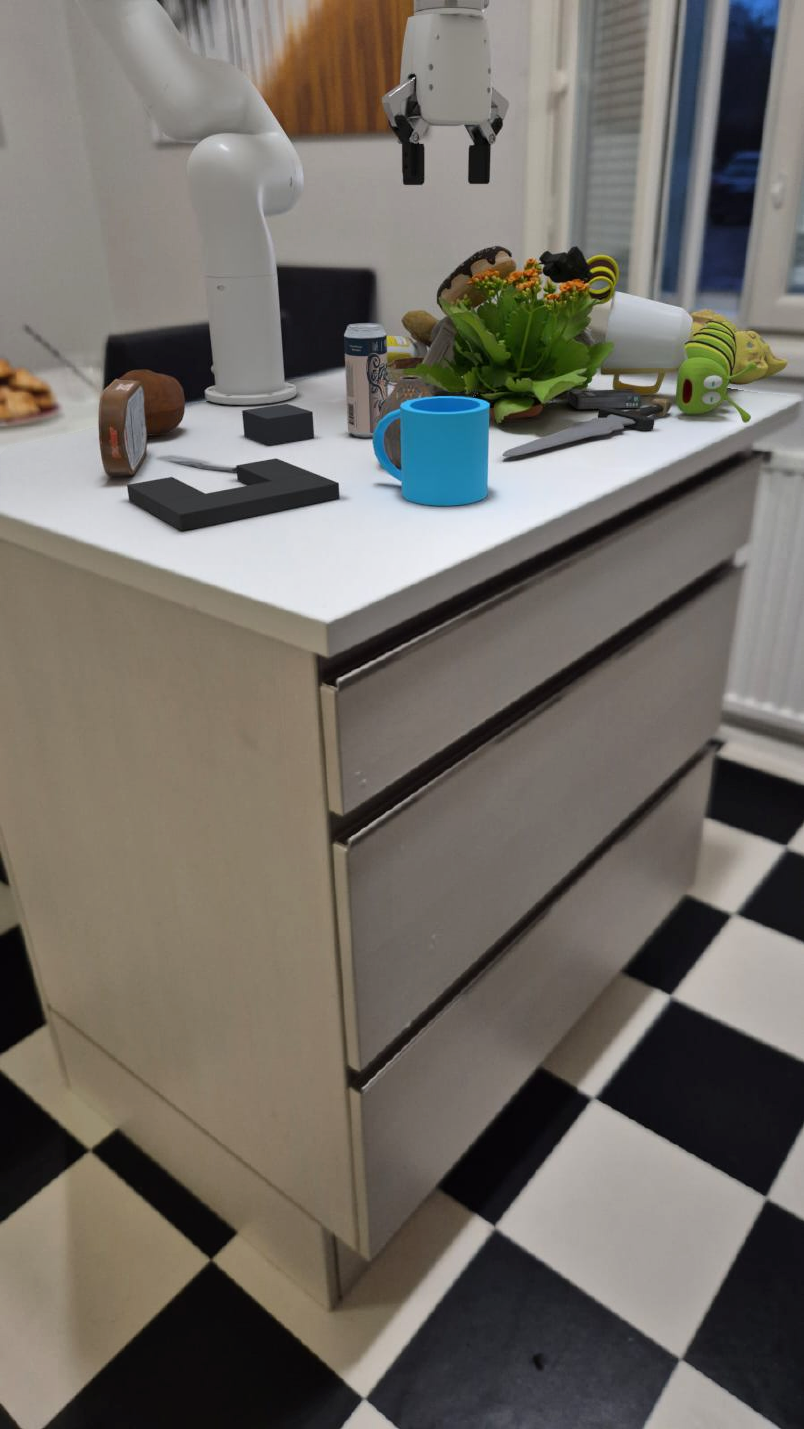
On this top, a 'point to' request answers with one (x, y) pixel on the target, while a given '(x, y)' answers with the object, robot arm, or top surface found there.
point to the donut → (476, 263)
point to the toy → (708, 370)
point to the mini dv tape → (604, 399)
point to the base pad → (234, 495)
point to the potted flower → (518, 343)
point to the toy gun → (565, 266)
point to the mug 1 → (439, 449)
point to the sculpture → (420, 325)
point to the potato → (160, 400)
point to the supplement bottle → (404, 348)
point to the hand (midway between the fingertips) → (446, 184)
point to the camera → (441, 347)
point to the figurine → (743, 350)
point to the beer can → (365, 376)
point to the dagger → (598, 426)
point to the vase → (402, 392)
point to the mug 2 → (644, 339)
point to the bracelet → (402, 367)
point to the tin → (122, 427)
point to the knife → (205, 466)
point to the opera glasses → (601, 277)
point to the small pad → (278, 424)
